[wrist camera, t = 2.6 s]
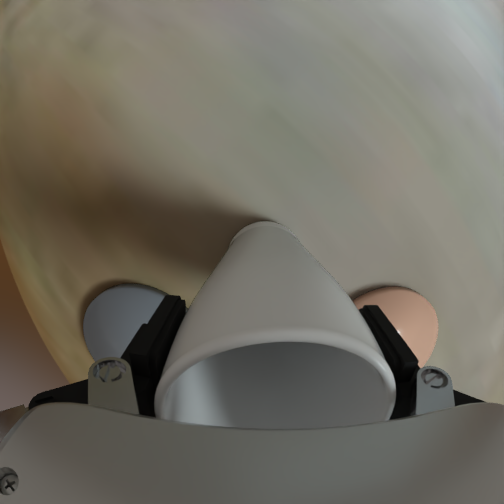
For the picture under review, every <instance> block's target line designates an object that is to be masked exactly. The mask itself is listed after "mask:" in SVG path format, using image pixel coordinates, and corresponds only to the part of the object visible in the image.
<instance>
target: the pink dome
mask: <svg viewBox="0 0 504 504" xmlns="http://www.w3.org/2000/svg"><path fill="white" fill-rule="evenodd" d="M352 301H353V302H354V304H355V305H356V307H357V308H358V310H359V309H360V308H363V306H364V305H378V306H379V308H380V309H381V310H382V311H383V313H384V314H385V315H386V317H387V318H388V319H389V321H390V322H391V323H392V325H393V326H394V327H395V329H396V330H397V331H398V333H399V334H400V335H401V337H402V338H403V339H404V341H405V342H406V343H407V345H408V346H409V348H410V349H411V350H412V352H413V353H414V355H415V356H416V357H417V359H418V360H419V363H418V365H419V367H420V368H422V367H423V366H424V364H425V363H426V362H427V360H428V359H429V357H430V355H431V353H432V351H433V349H434V346H435V344H436V340H437V336H438V319H437V315H436V312H435V310H434V308H433V307H432V305H431V304H430V303H429V302H428V301H427V300H426V299H425V298H424V297H423V296H422V295H420V294H419V293H418V292H416V291H414V290H412V289H409V288H405V287H397V286H395V287H384V288H379V289H376V290H373V291H370V292H368V293H365V294H363V295H361V296H359V297H357V298H356V299H354V300H352Z"/></svg>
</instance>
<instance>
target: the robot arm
mask: <svg viewBox="0 0 504 504" xmlns="http://www.w3.org/2000/svg"><path fill="white" fill-rule="evenodd" d="M359 311H360V313H361V314H362V316H363V317H364V319H365V321H366V322H367V324H368V326H369V328H370V329H371V331H372V333H373V335H374V337H375V339H376V341H377V343H378V345H379V347H380V349H381V351H382V353H383V355H384V357H385V359H386V361H387V363H388V365H389V367H390V369H391V371H392V373H393V376H394V379H395V383H396V401H395V406H394V409H393V412H392V415H391V417H390V419H389V420H387V421H380V422H373V423H366V424H358V425H348V426H337V427H324V428H303V429H259V428H237V427H223V426H212V425H203V424H194V423H187V422H180V421H173V420H167V419H161V418H156V416H155V411H154V398H155V392H156V389H157V385H158V383H159V381H160V378H161V374H162V371H163V368H164V365H165V362H166V359H167V356H168V353H169V351H170V348H171V345H172V343H173V340H174V338H175V336H176V333H177V331H178V329H179V327H180V325H181V322H182V320H183V318H184V316H185V314H186V304H185V300H181V297H180V296H174V295H166V296H165V297H164V298H163V300H162V301H161V303H160V305H159V306H158V308H157V309H156V311H155V312H154V314H153V315H152V317H151V318H150V320H149V322H148V323H147V324H146V323H144V324H142V325H141V327H140V328H139V330H138V331H137V333H136V334H135V336H134V337H133V339H132V340H131V342H130V343H129V345H128V346H127V348H126V350H125V351H124V353H123V354H122V356H121V357H120V358H117V357H106V358H102V359H100V360H97V361H96V362H94V363H93V364H92V365H91V367H90V368H89V372H88V379H86V380H83V381H80V382H76V383H73V384H70V385H66V386H63V387H59V388H56V389H53V390H49V391H45V392H42V393H39V394H37V395H36V396H35V397H33V398H32V400H31V401H30V403H29V407H26V408H25V406H24V405H20V406H17V407H13V408H10V409H6V410H3V411H0V504H504V405H502V404H498V403H487V402H484V401H482V400H479V399H476V398H474V397H471V396H468V395H466V394H463V393H460V392H458V391H455V390H453V386H452V380H451V377H450V376H449V375H448V373H446V372H445V371H444V370H442V369H440V368H437V367H434V366H426V367H423V368H420V367H419V365H418V363H419V360H418V359H417V357H416V356H415V355H414V353H413V352H412V350H411V349H410V348H409V346H408V345H407V343H406V342H405V341H404V339H403V338H402V337H401V335H400V334H399V333H398V331H397V330H396V329H395V327H394V326H393V325H392V323H391V322H390V321H389V319H388V318H387V317H386V315H385V314H384V313H383V311H382V310H381V309H380V308H379V306H378V305H364V306H363V308H360V309H359Z"/></svg>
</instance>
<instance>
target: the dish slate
mask: <svg viewBox="0 0 504 504" xmlns="http://www.w3.org/2000/svg"><path fill="white" fill-rule="evenodd" d="M166 295H169V294H167V293H165V292H163V291H161V290H158V289H156V288H153V287H150V286H146V285H141V284H120V285H116V286H113V287H110V288H108V289H106V290H105V291H103V292H102V293H101V294H99V295H98V296H97V297H96V298H95V299H94V300H93V301H92V302H91V304H90V305H89V307H88V308H87V311H86V313H85V316H84V322H83V331H84V337H85V341H86V344H87V347H88V349H89V352H90V354H91V355H92V357H93V359H94V360H95V362H96V361H97V360H100V359H102V358H106V357H117V358H120V357H121V356H122V354H123V353H124V351H125V350H126V348H127V346H128V345H129V343H130V342H131V340H132V339H133V337H134V336H135V334H136V333H137V331H138V330H139V328H140V327H141V325H142V324H144V323H146V324H147V323H148V322H149V320H150V318H151V317H152V315H153V314H154V312H155V311H156V309H157V308H158V306H159V305H160V303H161V301H162V300H163V298H164V297H165V296H166ZM187 310H188V308H187V307H186V312H187Z"/></svg>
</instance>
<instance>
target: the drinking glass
mask: <svg viewBox="0 0 504 504" xmlns="http://www.w3.org/2000/svg"><path fill="white" fill-rule="evenodd" d="M395 401H396V383H395V379H394V376H393V373H392V371H391V369H390V367H389V365H388V363H387V361H386V359H385V357H384V355H383V353H382V351H381V349H380V347H379V345H378V343H377V341H376V339H375V337H374V335H373V333H372V331H371V329H370V328H369V326H368V324H367V322H366V321H365V319H364V317H363V316H362V314H361V313H360V311H359V310H358V308H357V307H356V305H355V304H354V302H353V301H352V300H351V298H350V297H349V296H348V294H347V293H346V292H345V290H344V289H343V288H342V287H341V285H340V284H339V283H338V282H337V281H336V280H335V279H334V278H333V277H332V275H331V274H330V273H329V272H328V271H327V270H326V269H325V268H324V267H323V266H322V265H321V264H320V263H319V262H318V261H317V260H316V259H315V258H314V257H313V256H312V255H311V254H310V253H309V252H308V250H307V249H306V248H305V247H304V246H303V245H302V244H301V243H300V241H299V240H298V238H297V237H296V235H295V234H294V233H293V232H292V231H291V230H289V229H288V228H287V227H285V226H283V225H281V224H279V223H275V222H270V221H261V222H256V223H252V224H250V225H248V226H246V227H244V228H243V229H241V230H240V231H239V232H238V233H237V234H236V235H235V236H234V238H233V239H232V241H231V243H230V245H229V247H228V250H227V251H226V253H225V254H224V256H223V257H222V258H221V260H220V261H219V263H218V264H217V266H216V267H215V268H214V270H213V271H212V273H211V274H210V276H209V277H208V278H207V280H206V281H205V283H204V284H203V286H202V287H201V289H200V290H199V292H198V293H197V295H196V296H195V298H194V300H193V301H192V303H191V305H190V307H189V308H188V310H187V312H186V314H185V316H184V318H183V320H182V322H181V325H180V327H179V329H178V331H177V333H176V336H175V338H174V340H173V343H172V345H171V348H170V351H169V353H168V356H167V359H166V362H165V365H164V368H163V371H162V374H161V378H160V381H159V383H158V385H157V389H156V392H155V398H154V411H155V416H156V418H161V419H167V420H173V421H180V422H187V423H194V424H203V425H212V426H223V427H237V428H259V429H303V428H324V427H337V426H348V425H358V424H366V423H373V422H380V421H387V420H389V419H390V417H391V415H392V412H393V409H394V406H395Z"/></svg>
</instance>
